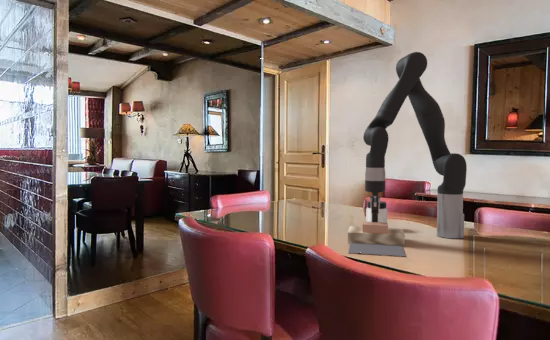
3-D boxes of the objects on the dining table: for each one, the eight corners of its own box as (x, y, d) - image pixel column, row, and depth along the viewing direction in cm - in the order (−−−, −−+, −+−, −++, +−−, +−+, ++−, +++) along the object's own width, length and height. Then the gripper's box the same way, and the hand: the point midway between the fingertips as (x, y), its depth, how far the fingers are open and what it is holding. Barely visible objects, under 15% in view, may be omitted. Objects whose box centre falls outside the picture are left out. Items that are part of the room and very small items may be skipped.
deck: (401, 238, 140) (401, 228, 140) (404, 246, 128) (404, 235, 128) (349, 236, 145) (349, 226, 145) (347, 243, 133) (347, 232, 133)
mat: (401, 246, 128) (401, 245, 128) (405, 257, 114) (405, 256, 114) (350, 243, 133) (350, 242, 133) (348, 253, 119) (348, 252, 119)
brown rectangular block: (387, 230, 136) (387, 222, 136) (387, 233, 130) (388, 225, 130) (363, 229, 139) (363, 221, 138) (362, 232, 133) (362, 224, 133)
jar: (379, 231, 153) (379, 203, 153) (363, 228, 159) (363, 202, 159) (390, 228, 160) (390, 201, 159) (373, 226, 166) (374, 200, 165)
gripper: (386, 180, 130) (385, 227, 131) (384, 178, 143) (384, 221, 144) (364, 180, 132) (364, 226, 133) (365, 178, 145) (365, 220, 146)
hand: (374, 223), depth 139 cm, fingers closed
